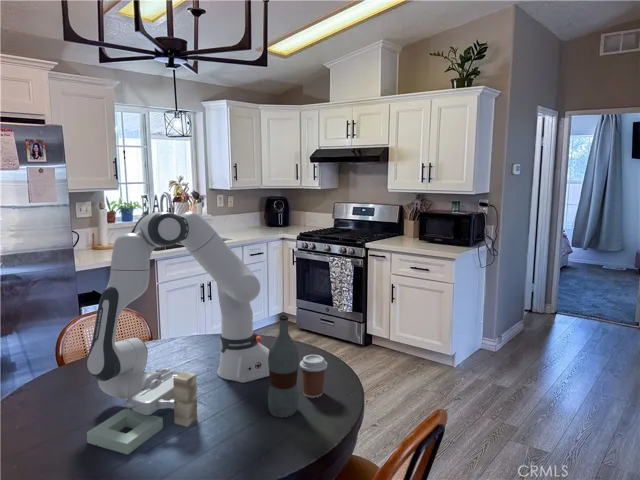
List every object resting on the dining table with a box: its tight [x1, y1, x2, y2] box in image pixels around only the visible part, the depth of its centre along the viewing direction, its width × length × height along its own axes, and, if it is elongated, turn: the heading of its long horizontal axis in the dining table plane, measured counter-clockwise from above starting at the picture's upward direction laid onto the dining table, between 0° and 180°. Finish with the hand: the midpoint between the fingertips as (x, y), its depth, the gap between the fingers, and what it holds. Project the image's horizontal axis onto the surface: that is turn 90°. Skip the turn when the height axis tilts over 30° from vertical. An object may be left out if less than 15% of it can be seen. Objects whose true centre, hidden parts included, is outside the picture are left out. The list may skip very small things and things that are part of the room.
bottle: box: [267, 314, 300, 419], centre depth 138 cm, size 9×9×30 cm
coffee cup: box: [299, 354, 328, 399], centre depth 151 cm, size 9×9×12 cm
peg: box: [173, 371, 198, 428], centre depth 132 cm, size 4×4×14 cm
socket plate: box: [86, 408, 164, 456], centre depth 126 cm, size 14×14×3 cm
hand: (185, 397), depth 132 cm, fingers open, 8 cm apart
